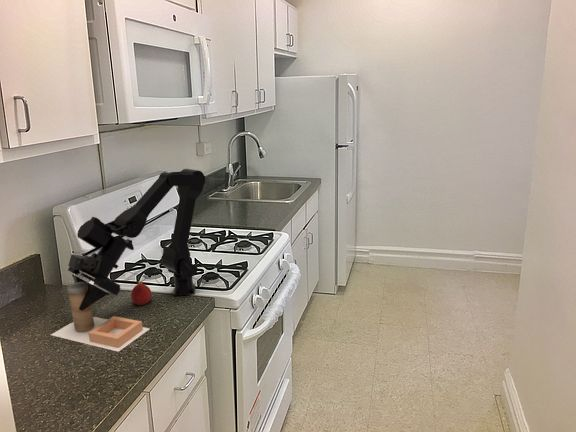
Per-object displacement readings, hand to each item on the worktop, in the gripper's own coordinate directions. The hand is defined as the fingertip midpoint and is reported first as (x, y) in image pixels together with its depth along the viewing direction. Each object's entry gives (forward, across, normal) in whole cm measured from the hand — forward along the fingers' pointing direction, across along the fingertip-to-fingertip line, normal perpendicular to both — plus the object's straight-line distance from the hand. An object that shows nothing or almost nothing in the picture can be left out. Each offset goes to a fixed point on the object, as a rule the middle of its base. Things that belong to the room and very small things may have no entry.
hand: (75, 307), depth 130 cm
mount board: (+4, +5, +8) cm, 10 cm away
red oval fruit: (-8, -2, +20) cm, 22 cm away
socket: (+1, +11, +8) cm, 14 cm away
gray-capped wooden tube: (+4, 0, +6) cm, 7 cm away
